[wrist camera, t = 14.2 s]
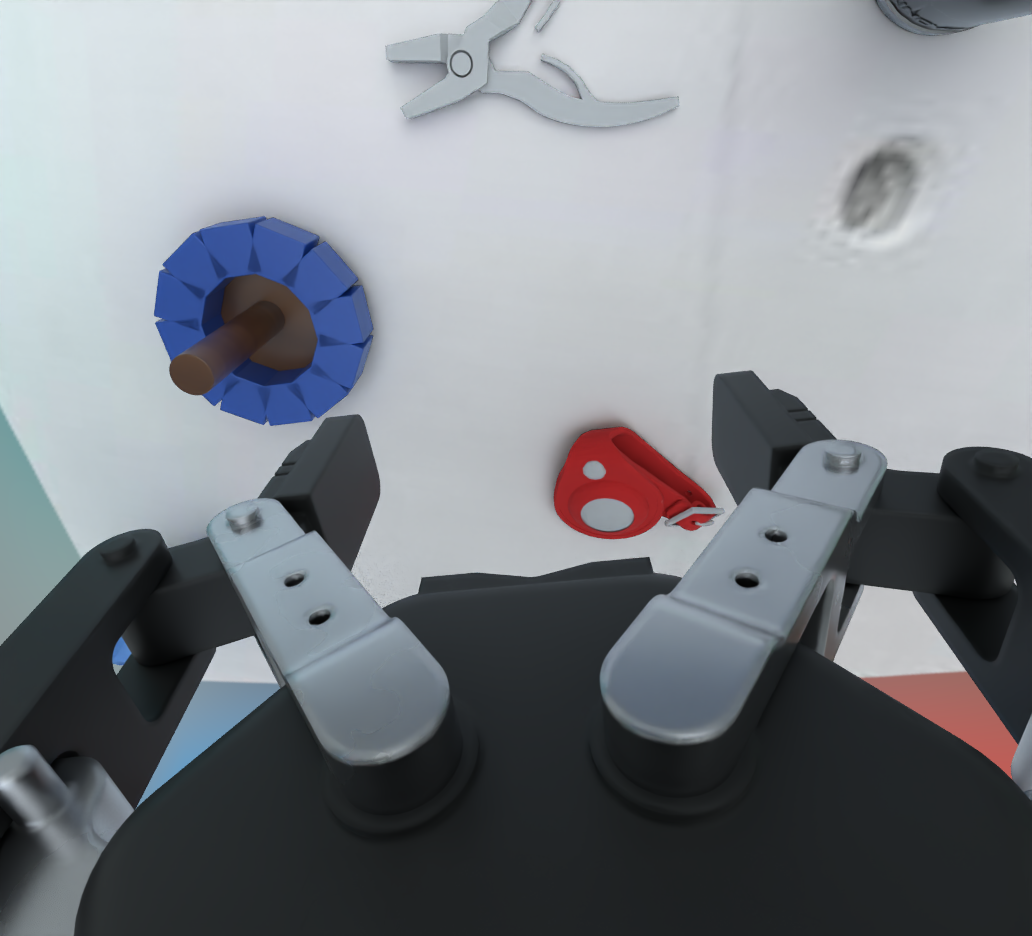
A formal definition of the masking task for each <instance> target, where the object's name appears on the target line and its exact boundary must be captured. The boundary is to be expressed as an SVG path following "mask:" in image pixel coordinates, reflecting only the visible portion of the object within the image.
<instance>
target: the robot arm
mask: <svg viewBox="0 0 1032 936" xmlns="http://www.w3.org/2000/svg"><path fill="white" fill-rule="evenodd" d="M876 1H877V3H878V5H879V7H880V8H881V10H882V11H883V12H884V13H885V14H886V16H887V17H888V18H889V19H890V20H892V21H893V22H894V23H895V24H897V25H898V26H900V27H901V28H903V29H905V30H907V31H910V32H913V33H916V34H921V35H931V36H935V35H945V34H951V33H956V32H960V31H964V30H968V29H971V28H974V27H976V26H979V25H982V24H987V23H993V22H997V21H1002V20H1007V19H1011V18H1016V17H1021V16H1025V15H1030V14H1032V0H876ZM712 450H713V457H714V461H715V464H716V466H717V468H718V470H719V472H720V474H721V476H722V478H723V479H724V481H725V483H726V485H727V487H728V489H729V491H730V493H731V494H732V496H733V498H734V500H735V502H736V504H737V506H738V507H737V508H736V509H735V511H734V512H733V513H732V514H731V516H730V517H729V518H728V520H727V521H726V522H725V523H724V525H723V526H722V527H721V529H720V530H719V531H718V533H717V534H716V535H715V536H714V538H713V539H712V540H711V542H710V543H709V544H708V545H707V547H706V548H705V549H704V551H703V552H702V553H701V555H700V556H699V557H698V558H697V560H696V561H695V562H694V564H693V565H692V566H691V567H690V569H689V570H688V571H687V573H686V574H685V575H684V577H683V578H681V577H677V576H672V575H666V574H660V573H653V569H652V565H651V562H650V558H649V557H644V558H633V559H622V560H611V561H600V562H591V563H587V564H583V565H580V566H576V567H572V568H568V569H564V570H561V571H557V572H553V573H549V574H546V575H542V576H537V577H521V576H510V575H498V574H486V573H467V574H456V575H445V576H434V577H423V578H422V579H421V583H420V588H419V592H418V594H416V595H412V596H409V597H406V598H404V599H401V600H398V601H396V602H394V603H392V604H390V605H387V606H386V607H384V608H381V607H380V606H379V605H378V603H377V602H376V601H375V600H374V599H373V598H372V596H371V595H370V594H369V593H368V592H367V591H366V589H365V588H364V587H363V586H362V585H361V583H360V582H359V581H358V580H357V579H356V578H355V576H354V575H353V574H352V573H351V570H352V567H353V564H354V562H355V559H356V557H357V554H358V552H359V549H360V547H361V544H362V541H363V539H364V536H365V534H366V531H367V529H368V526H369V524H370V521H371V518H372V516H373V513H374V511H375V508H376V506H377V503H378V501H379V497H380V479H379V474H378V470H377V466H376V463H375V459H374V456H373V452H372V448H371V445H370V441H369V438H368V434H367V430H366V427H365V424H364V421H363V419H362V417H361V416H360V415H358V414H356V415H347V416H339V417H330V418H326V419H325V420H324V421H323V423H322V424H321V426H320V427H319V429H318V430H317V432H316V433H315V435H314V436H313V438H312V439H311V440H307V441H305V442H304V443H302V444H301V445H300V446H298V447H297V448H295V449H294V450H293V451H291V452H290V453H289V455H288V456H287V457H286V459H285V460H284V462H283V463H282V466H281V467H279V469H278V470H277V472H276V473H275V476H273V477H272V479H271V480H270V481H269V483H268V484H267V486H266V487H265V488H264V490H263V491H262V493H261V494H260V496H259V497H258V498H257V499H253V500H248V501H244V502H241V503H238V504H236V505H233V506H231V507H229V508H227V509H225V510H224V511H222V512H221V513H219V514H218V515H217V516H215V517H214V518H213V519H212V520H211V521H210V523H209V524H208V526H207V530H206V532H207V535H208V537H207V538H204V539H201V540H197V541H194V542H190V543H186V544H183V545H179V546H176V547H172V548H167V546H166V544H165V542H164V540H163V538H162V536H161V534H160V533H159V532H158V531H156V530H152V529H139V530H134V531H129V532H126V533H123V534H120V535H117V536H115V537H112V538H110V539H108V540H106V541H104V542H102V543H100V544H99V545H97V546H96V547H94V548H93V549H91V550H90V551H89V552H87V553H86V554H85V555H84V556H83V557H82V558H81V559H80V561H79V562H78V563H77V564H76V565H75V566H74V567H73V568H72V569H71V570H70V571H69V572H68V574H67V575H66V576H65V577H64V578H63V579H62V580H61V581H60V582H59V583H58V584H57V585H56V586H55V588H54V589H53V590H52V591H51V592H50V593H49V594H48V595H47V596H46V597H45V598H44V600H42V602H41V603H40V604H39V605H38V606H37V607H36V608H35V609H34V610H33V611H32V612H31V613H30V615H29V616H28V617H27V618H26V619H25V620H24V621H23V622H22V623H21V624H20V625H19V626H18V627H17V629H16V630H15V631H14V632H13V633H12V634H11V635H10V636H9V637H8V638H7V639H6V641H4V643H3V644H2V645H1V646H0V936H1032V458H1030V457H1028V456H1025V455H1023V454H1020V453H1017V452H1013V451H1009V450H1005V449H999V448H992V447H965V448H960V449H956V450H953V451H951V452H949V453H947V454H946V455H945V456H944V459H943V462H942V466H941V470H940V473H925V472H909V471H898V470H891V469H886V468H887V459H886V457H885V456H884V455H883V454H882V453H881V452H880V451H878V450H877V449H875V448H873V447H871V446H868V445H866V444H862V443H859V442H854V441H848V440H837V439H836V438H835V437H834V436H833V435H832V434H831V433H830V431H829V430H828V429H827V428H826V427H825V426H824V425H823V424H822V423H821V422H820V421H819V420H816V417H815V416H814V415H813V414H812V412H811V411H808V408H807V407H806V406H805V405H804V404H803V403H802V402H801V401H800V400H799V399H798V398H797V397H795V396H793V395H791V394H788V393H786V392H784V391H782V390H779V389H774V390H769V389H768V388H767V387H766V386H765V385H764V384H763V382H762V381H761V380H760V379H759V378H758V377H757V376H756V374H755V373H754V372H753V371H742V372H733V373H724V374H717V375H716V376H715V379H714V384H713V412H712ZM1014 579H1015V580H1016V583H1017V586H1016V585H1015V584H1014ZM864 585H868V586H876V587H884V588H892V589H900V590H908V591H913V594H914V596H915V598H916V600H917V601H918V603H919V604H920V605H921V607H922V608H923V610H924V611H925V613H926V614H927V615H928V617H929V618H930V620H931V621H932V623H933V624H934V625H935V627H936V628H937V630H938V631H939V633H940V634H941V635H942V637H943V638H944V640H945V641H946V643H947V644H948V645H949V647H950V648H951V650H952V651H953V653H954V654H955V655H956V657H957V658H958V660H959V661H960V663H961V664H962V665H963V667H964V668H965V670H966V671H967V673H968V674H969V675H970V677H971V678H972V680H973V681H974V682H975V684H976V685H977V687H978V688H979V690H980V691H981V692H982V694H983V695H984V697H985V698H986V700H987V701H988V702H989V704H990V705H991V707H992V708H993V710H994V711H995V712H996V714H997V715H998V717H999V718H1000V720H1001V721H1002V722H1003V724H1004V725H1005V727H1006V728H1007V730H1008V731H1009V732H1010V734H1011V735H1012V737H1013V738H1014V739H1015V741H1016V742H1017V744H1018V748H1017V750H1016V752H1015V755H1014V757H1013V760H1012V764H1011V775H1012V779H1013V780H1012V779H1011V778H1010V777H1009V776H1008V775H1007V774H1006V773H1005V772H1004V771H1003V770H1001V768H999V767H998V766H997V765H996V764H995V763H993V762H992V761H991V760H990V759H988V758H987V757H986V756H984V755H983V754H982V753H981V752H979V751H978V750H976V749H975V748H973V747H972V746H970V745H969V744H967V743H966V742H964V741H963V740H961V739H960V738H958V737H956V736H955V735H953V734H951V733H950V732H948V731H946V730H945V729H943V728H941V727H940V726H938V725H937V724H934V723H933V722H932V721H930V720H928V719H927V718H925V717H923V716H922V715H920V714H918V713H917V712H915V711H913V710H912V709H910V708H908V707H907V706H905V705H903V704H902V703H900V702H898V701H897V700H895V699H893V698H892V697H890V696H889V695H887V694H885V693H884V692H882V691H880V690H879V689H877V688H875V687H874V686H872V685H870V684H869V683H867V682H865V681H864V680H862V679H861V678H859V677H857V676H856V675H854V674H852V673H851V672H849V671H847V670H846V669H844V668H842V667H841V666H839V665H837V664H836V663H834V662H833V661H834V658H835V655H836V652H837V650H838V648H839V645H840V643H841V641H842V639H843V636H844V634H845V632H846V629H847V627H848V625H849V622H850V620H851V618H852V615H853V613H854V611H855V609H856V606H857V604H858V602H859V599H860V597H861V595H862V592H863V589H864ZM250 636H254V637H255V639H256V641H257V643H258V645H259V647H260V649H261V651H262V653H263V655H264V657H265V659H266V661H267V663H268V665H269V667H270V669H271V671H272V673H273V674H274V676H275V678H276V680H277V682H278V684H279V686H280V689H279V690H278V691H277V692H276V693H274V694H273V695H272V696H271V697H269V698H268V699H267V700H266V701H265V702H263V703H262V704H261V705H260V706H258V707H257V708H256V709H255V710H254V711H252V712H251V713H250V714H249V715H248V716H246V717H245V718H244V719H243V720H241V721H240V722H239V723H238V724H237V725H235V726H234V727H233V728H232V729H231V730H229V731H228V732H227V733H226V734H225V735H223V736H222V737H221V738H219V739H218V740H217V741H216V742H215V743H213V744H212V745H211V746H210V747H209V748H207V749H206V750H205V751H204V752H202V753H201V754H200V755H199V756H198V757H196V758H195V759H194V760H193V761H191V762H190V763H189V764H188V765H187V766H185V767H184V768H183V769H182V770H180V771H179V772H178V773H177V774H176V775H174V776H173V777H172V778H171V779H170V780H168V781H167V782H166V783H165V784H163V785H162V786H161V787H160V788H159V789H157V790H156V791H155V792H154V793H153V794H152V795H150V796H149V797H148V798H147V799H146V800H145V801H144V802H142V803H141V804H140V805H139V806H138V807H137V805H138V803H139V801H140V799H141V797H142V795H143V793H144V791H145V789H146V787H147V785H148V783H149V781H150V780H151V778H152V775H153V774H154V772H155V770H156V768H157V766H158V764H159V762H160V760H161V758H162V756H163V754H164V752H165V750H166V748H167V746H168V744H169V742H170V740H171V738H172V736H173V735H174V733H175V730H176V729H177V727H178V725H179V723H180V721H181V719H182V717H183V715H184V713H185V711H186V709H187V707H188V705H189V703H190V701H191V699H192V697H193V695H194V693H195V691H196V689H197V687H198V686H199V684H200V682H201V680H202V678H203V676H204V674H205V672H206V670H207V668H208V666H209V664H210V662H211V660H212V658H213V656H214V654H215V651H216V647H219V646H222V645H225V644H228V643H231V642H235V641H238V640H241V639H244V638H247V637H250ZM120 637H122V638H123V640H124V642H125V643H126V645H127V647H128V648H129V650H130V652H131V655H130V656H129V658H128V659H127V661H126V662H125V664H124V665H123V667H122V668H121V670H120V671H119V673H118V674H117V675H116V674H115V672H114V669H113V663H112V657H113V651H114V648H115V645H116V643H117V642H118V640H119V639H120ZM136 807H137V808H136Z"/></svg>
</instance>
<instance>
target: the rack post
mask: <svg viewBox="0 0 1032 936" xmlns="http://www.w3.org/2000/svg"><path fill="white" fill-rule="evenodd" d="M221 316H222V318H223V321H224V325H223V326H221V327H220V328H218V329H217V330H215V331H214V332H212V333H211V334H209V335H208V336H206V337H205V338H203V339H202V340H200V341H199V342H197V343H196V344H194V345H193V346H191V347H190V348H188V349H187V350H185V351H184V352H182V353H181V354H179V355H178V356H176V357H175V358H174V359H173V360H172V362H171V364H170V369H169V371H170V376H171V378H172V380H173V382H174V383H175V385H176V386H177V387H178V388H180V389H181V390H182V391H184V392H186V393H188V394H192V395H203V394H206V393H208V392H209V391H210V390H211V389H212V388H214V387H215V386H216V385H217V384H218V383H220V382H221V381H222V380H223V379H224V378H225V377H227V376H228V375H229V374H230V373H231V372H233V371H234V370H235V369H236V368H237V367H238V366H240V365H241V364H242V363H243V362H244V361H246V360H247V359H248V358H249V359H250V360H251V361H253V362H255V363H258V364H261V365H264V366H266V367H269V368H272V369H275V370H277V371H283V370H291V369H299V368H305V367H306V366H307V365H308V364H310V363H311V362H312V360H313V356H314V353H315V349H316V345H317V341H318V339H317V335H316V332H315V329H314V325H313V322H312V319H311V315H310V312H309V310H308V309H307V308H306V306H305V305H304V304H303V303H302V302H301V301H300V300H299V299H298V298H297V297H296V296H295V295H294V294H293V293H292V291H291V290H290V289H289V288H288V287H287V286H285V285H282V284H280V283H277V282H275V281H272V280H270V279H267V278H264V277H262V276H259V275H257V274H252V275H245V276H238V277H235V278H234V279H233V280H232V281H231V282H230V283H229V284H228V285H227V286H226V287H225V290H224V296H223V302H222V308H221Z"/></svg>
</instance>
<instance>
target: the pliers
mask: <svg viewBox="0 0 1032 936" xmlns="http://www.w3.org/2000/svg"><path fill="white" fill-rule="evenodd" d="M531 1H532V0H498V1H497V2H496V3H495V4H494V5H493V6H492V7H491V8H490V9H489V10H488V12H487V13H486V14H485V15H484V16H482V17H481V18H479V19H478V20H476V21H475V22H473V23H472V24H470V25H469V26H467V27H466V29H465V32H464V34H435V35H431V36H427V37H422V38H418V39H413V40H409V41H405V42H400V43H396V44H391V45H387V46H386V59H387V60H389V61H391V62H414V63H444V64H447V68H448V71H449V73H448V74H447V76H446V77H445V78H444V79H442V80H441V81H439V82H438V83H436V84H435V85H433V86H432V87H431V88H429V89H428V90H426V91H425V92H423V93H422V94H420V95H419V96H417V97H416V98H414V99H413V100H411V101H410V102H408V103H407V104H405V105H404V106H402V107H401V110H402V112H403V114H404V116H405V117H406V119H412V118H415V117H418V116H421V115H423V114H426V113H429V112H432V111H435V110H437V109H440V108H443V107H446V106H448V105H451V104H454V103H457V102H459V101H461V100H463V99H464V98H466V97H467V96H469V95H470V94H472V93H474V92H475V91H477V90H478V89H479V90H480V91H481V92H482V93H502V94H504V95H507V96H509V97H512V98H515V99H517V100H520V101H522V102H523V103H525V104H526V105H528V106H529V107H530V108H532V109H533V110H535V111H536V112H538V113H539V114H541V115H543V116H545V117H548V118H550V119H553V120H555V121H558V122H563V123H567V124H572V125H578V126H589V127H613V126H620V125H628V124H632V123H636V122H641V121H645V120H648V119H650V118H653V117H655V116H658V115H661V114H663V113H665V112H667V111H670V110H672V109H674V108H676V107H678V106H679V99H678V97H672V98H666V99H660V100H651V101H642V102H631V103H613V102H598V101H597V100H596V99H595V98H594V97H593V96H592V95H591V94H590V92H589V90H588V89H587V87H586V85H585V84H584V82H583V80H582V79H581V78H580V77H579V76H578V75H577V74H576V73H575V72H574V71H573V70H572V69H571V68H570V67H569V66H568V65H566V64H564V63H562V62H561V61H559V60H557V59H555V58H552V57H550V56H547V55H545V54H542V58H541V60H542V61H544V62H546V63H549V64H551V65H554V66H555V67H557V68H558V69H560V70H562V71H563V72H565V73H566V74H567V75H568V76H569V77H570V79H571V80H572V81H573V82H574V83H575V84H576V87H577V89H578V92H579V94H580V97H581V99H578V98H574V97H571V96H567V95H565V94H564V93H562V92H560V91H558V90H557V89H555V88H553V87H551V86H550V85H548V84H547V83H545V82H544V81H542V80H540V79H539V78H537V77H536V76H534V75H533V74H531V73H530V72H520V71H495V69H494V67H493V65H492V63H491V61H490V59H489V41H491V40H493V39H495V38H497V37H499V36H501V35H503V34H505V33H506V32H508V31H509V30H511V29H512V28H514V27H515V26H517V25H518V24H519V23H520V21H521V19H522V18H523V16H524V14H525V12H526V10H527V9H528V7H529V5H530V3H531ZM559 2H560V0H553V2H552V4H551V5H550V7H549V9H548V10H547V12H546V13H545V15H544V16H543V17H542V19H541V20H540V21H539V23H538V24H537V25H536V26H535V29H536V30H537V32H539V31H540V30H541V29H542V27H543V26H544V25H545V24H546V23H547V21H548V20H549V19H550V17H551V16H552V14H553V12H554V11H555V9H556V8H557V6H558V4H559Z"/></svg>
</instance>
